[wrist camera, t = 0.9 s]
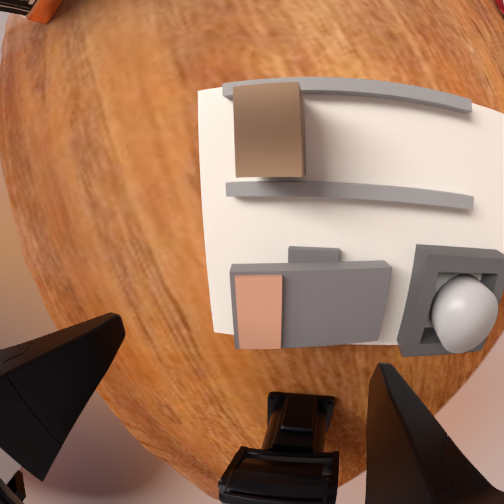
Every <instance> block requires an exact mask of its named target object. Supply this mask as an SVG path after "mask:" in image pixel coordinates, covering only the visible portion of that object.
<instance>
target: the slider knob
mask: <svg viewBox="0 0 504 504" xmlns="http://www.w3.org/2000/svg"><path fill="white" fill-rule="evenodd" d="M233 113H234V145H235V172H236V178H240V177H303V176H305V175H306V146H305V118H304V99H303V96H302V92H301V89H300V85H299V82H280V83H264V84H252V85H243V86H234V87H233Z"/></svg>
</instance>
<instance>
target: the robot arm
mask: <svg viewBox="0 0 504 504" xmlns="http://www.w3.org/2000/svg"><path fill="white" fill-rule="evenodd" d="M124 338H125V329H124V326H123V322H122V318H121V316H120V315H118V314H115V313H112V312H110V313H107V314H104V315H102V316H99V317H96V318H93V319H90V320H87V321H85V322H82V323H79V324H76V325H73V326H71V327H68V328H65V329H62V330H59V331H56V332H54V333H51V334H48V335H45V336H42V337H39V338H36V339H34V340H30V341H28V342H25V343H21V344H18V345H15V346H12V347H8V348H4V349H0V504H24V503H23V500H24V499H25V497H26V494H25V488H24V482H23V474H22V472H21V471H20V470H19V468H20V467H21V466H22V467H23V468H25V469H26V470H27V471H28V472H30V473H31V474H32V475H34V476H35V477H36V478H38V479H39V480H40V481H42V482H43V480H44V479H45V477H46V475H47V473H48V472H49V469H50V467H51V466H52V463H53V462H54V460H55V458H56V456H57V455H58V453H59V451H60V449H61V447H62V445H63V443H64V441H65V440H66V438H67V436H68V434H69V432H70V431H71V429H72V427H73V426H74V424H75V422H76V420H77V419H78V417H79V416H80V414H81V412H82V411H83V409H84V407H85V406H86V404H87V402H88V401H89V398H90V397H91V396H92V394H93V392H94V391H95V389H96V388H97V386H98V385H99V383H100V381H101V380H102V378H103V377H104V375H105V373H106V372H107V370H108V369H109V367H110V365H111V363H112V361H113V359H114V357H115V355H116V353H117V351H118V349H119V347H120V346H121V344H122V342H123V340H124ZM273 396H274V397H273ZM334 404H335V398H334V397H330V396H312V395H299V394H289V393H279V392H270V393H269V395H268V423H267V431H266V435H265V438H264V441H263V445H262V448H261V449H254V448H248V447H245V446H241V447H240V449H239V451H238V452H237V453H236V454H235V456H234V458H233V459H232V461H231V463H230V464H229V466H228V467H227V469H226V471H225V472H224V474H223V475H222V477H221V479H220V481H219V482H218V487H219V499H220V501H221V503H222V504H335V502H336V496H337V488H338V473H339V451H333V452H324V444H325V434H326V432H327V429H328V426H329V422H330V419H331V415H332V412H333V408H334ZM366 435H367V475H366V476H367V477H366V499H365V504H504V492H502V491H500V490H498V489H496V488H495V487H493V486H492V485H491V484H490V483H489V482H488V481H487V480H486V479H485V477H484V476H483V475H482V474H481V473H480V472H479V471H478V470H477V469H476V468H475V467H474V466H473V465H472V464H471V462H470V461H469V460H468V459H467V458H466V457H465V456H464V455H463V453H462V452H461V451H460V450H459V449H458V447H457V446H456V445H455V443H454V442H453V441H452V439H451V438H450V437H449V436H447V433H446V432H445V430H444V429H443V428H442V426H441V425H440V424H439V423H438V421H437V420H436V419H435V417H434V416H433V415H432V414H431V412H430V411H429V410H428V409H427V407H426V406H425V405H424V404H423V402H422V401H421V400H420V399H419V397H418V396H417V395H416V394H415V392H414V391H413V390H412V389H411V387H410V386H409V385H408V384H407V382H406V381H405V380H404V379H403V378H402V376H401V375H400V374H399V373H398V371H397V370H396V369H395V368H394V367H393V365H392V364H390V363H379V364H378V365H377V367H376V369H375V371H374V373H373V375H372V377H371V380H370V383H369V396H368V412H367V425H366Z"/></svg>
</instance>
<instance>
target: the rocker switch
mask: <svg viewBox="0 0 504 504" xmlns="http://www.w3.org/2000/svg"><path fill="white" fill-rule="evenodd" d="M229 274H230V288H231V302H232V316H233V329H234V341H235V349H281V348H298V347H316V346H330V345H342V344H352V343H362V342H371V341H378V339H379V334H380V330H381V326H382V321H383V317H384V312H385V307H386V302H387V297H388V292H389V286H390V280H391V274H392V267H391V266H390V265H389V264H388V263H387V262H386V261H385V260H374V261H342V262H303V263H255V264H232V265H231V268H230V272H229Z"/></svg>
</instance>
